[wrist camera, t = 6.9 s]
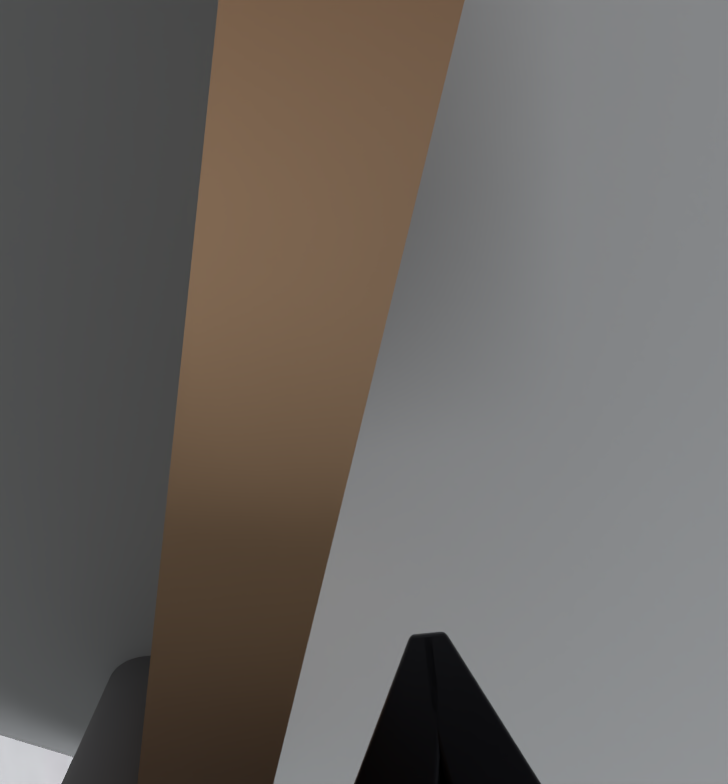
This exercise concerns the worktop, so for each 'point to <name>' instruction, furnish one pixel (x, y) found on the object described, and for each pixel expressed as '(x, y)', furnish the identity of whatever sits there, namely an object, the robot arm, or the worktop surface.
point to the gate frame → (394, 389)
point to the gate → (280, 354)
